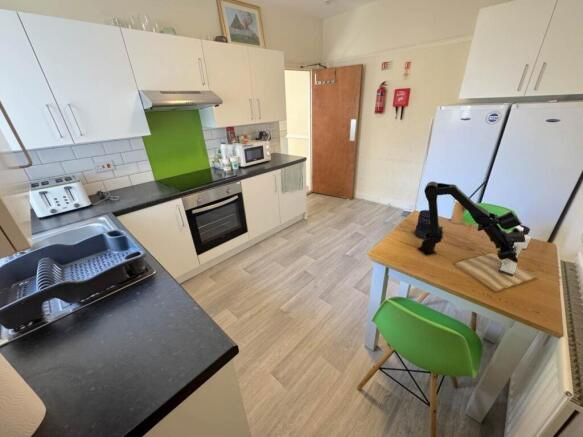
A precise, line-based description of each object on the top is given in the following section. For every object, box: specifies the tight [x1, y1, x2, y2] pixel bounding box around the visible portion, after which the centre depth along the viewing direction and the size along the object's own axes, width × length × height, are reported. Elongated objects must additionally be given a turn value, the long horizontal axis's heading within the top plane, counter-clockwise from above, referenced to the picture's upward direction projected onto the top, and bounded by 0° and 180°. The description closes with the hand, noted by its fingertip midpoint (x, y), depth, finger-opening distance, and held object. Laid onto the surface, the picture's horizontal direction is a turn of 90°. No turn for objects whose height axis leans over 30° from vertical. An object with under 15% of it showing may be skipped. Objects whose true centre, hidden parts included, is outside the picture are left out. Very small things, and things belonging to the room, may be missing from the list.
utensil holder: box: [449, 181, 486, 224], centre depth 153 cm, size 11×11×30 cm
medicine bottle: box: [507, 224, 532, 250], centre depth 132 cm, size 7×7×12 cm
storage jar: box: [414, 209, 430, 240], centre depth 143 cm, size 10×10×18 cm
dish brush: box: [499, 245, 522, 277], centre depth 111 cm, size 8×5×14 cm, turn 135°
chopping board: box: [454, 252, 538, 293], centre depth 116 cm, size 26×20×1 cm
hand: (516, 260), depth 110 cm, fingers closed on dish brush, 2 cm apart
